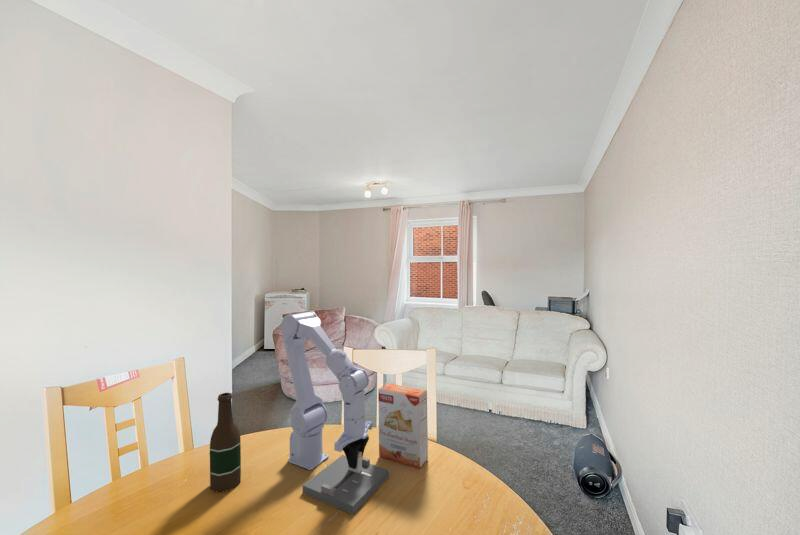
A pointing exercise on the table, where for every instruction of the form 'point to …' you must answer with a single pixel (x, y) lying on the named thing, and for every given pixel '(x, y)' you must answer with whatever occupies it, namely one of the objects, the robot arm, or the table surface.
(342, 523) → the table surface
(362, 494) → the console
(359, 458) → the fader tab
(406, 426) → the cracker box
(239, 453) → the beer bottle
